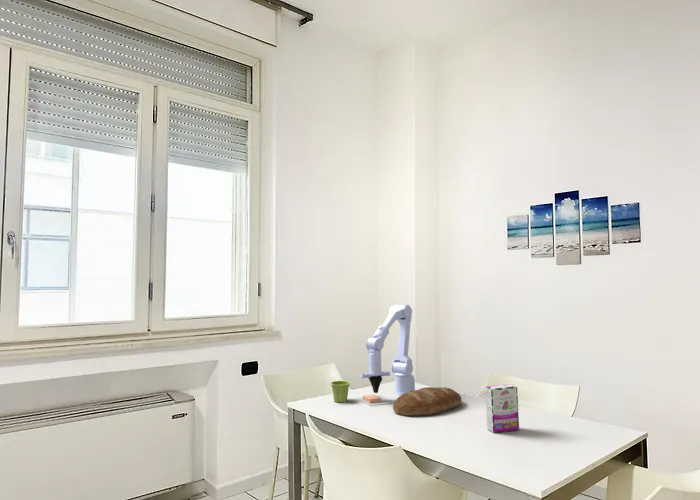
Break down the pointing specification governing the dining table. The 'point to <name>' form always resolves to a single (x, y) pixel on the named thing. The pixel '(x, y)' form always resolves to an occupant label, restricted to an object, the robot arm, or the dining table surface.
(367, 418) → the dining table surface
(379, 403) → the mat
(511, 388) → the candy bar box
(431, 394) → the bread
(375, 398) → the tile
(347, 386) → the plant pot
